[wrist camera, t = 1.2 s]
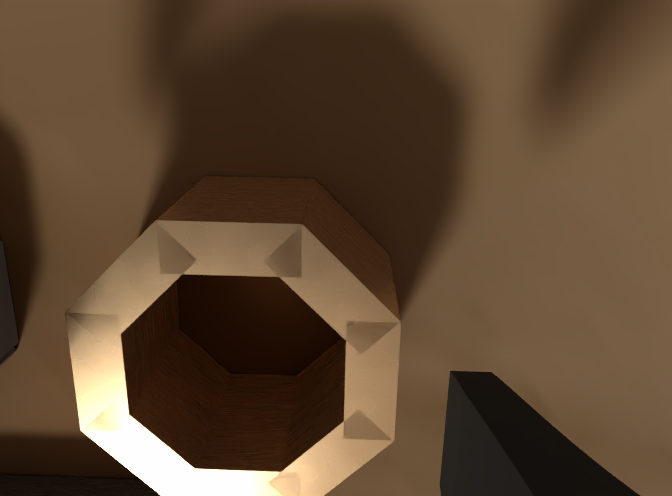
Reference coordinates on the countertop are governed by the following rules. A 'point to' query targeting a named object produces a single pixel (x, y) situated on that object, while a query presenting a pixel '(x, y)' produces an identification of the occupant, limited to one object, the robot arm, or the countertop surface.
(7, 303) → the grey octagonal ring
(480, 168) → the countertop surface
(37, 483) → the piston stand
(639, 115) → the countertop surface
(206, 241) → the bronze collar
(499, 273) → the countertop surface
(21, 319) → the countertop surface
